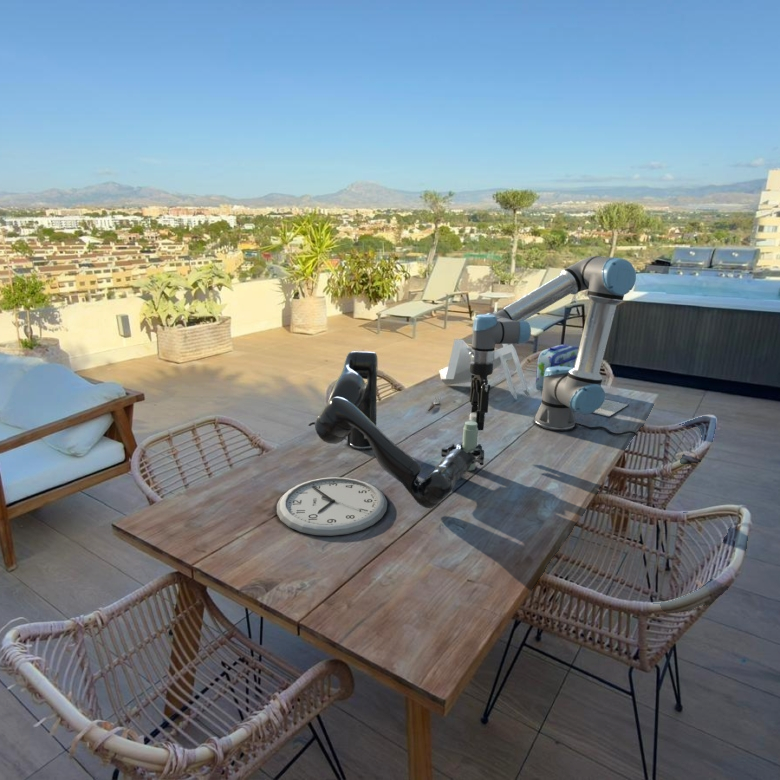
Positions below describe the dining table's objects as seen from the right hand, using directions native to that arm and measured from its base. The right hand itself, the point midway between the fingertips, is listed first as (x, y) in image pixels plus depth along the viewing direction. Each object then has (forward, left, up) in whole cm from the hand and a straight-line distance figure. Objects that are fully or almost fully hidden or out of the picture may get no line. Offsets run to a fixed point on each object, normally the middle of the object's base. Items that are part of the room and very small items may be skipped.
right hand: (476, 426), depth 181 cm
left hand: (+2, +15, -1) cm, 15 cm away
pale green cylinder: (+3, +17, -7) cm, 19 cm away
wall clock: (+40, +47, -7) cm, 62 cm away
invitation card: (-56, -52, -7) cm, 77 cm away
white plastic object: (-4, -64, -7) cm, 64 cm away
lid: (0, 0, +4) cm, 4 cm away
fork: (+16, -40, -7) cm, 44 cm away
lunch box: (-41, -75, -7) cm, 86 cm away
